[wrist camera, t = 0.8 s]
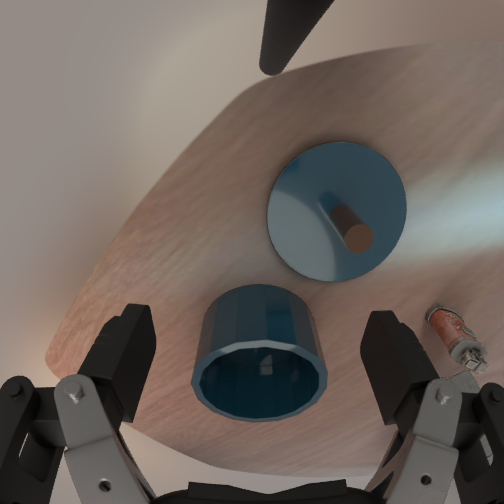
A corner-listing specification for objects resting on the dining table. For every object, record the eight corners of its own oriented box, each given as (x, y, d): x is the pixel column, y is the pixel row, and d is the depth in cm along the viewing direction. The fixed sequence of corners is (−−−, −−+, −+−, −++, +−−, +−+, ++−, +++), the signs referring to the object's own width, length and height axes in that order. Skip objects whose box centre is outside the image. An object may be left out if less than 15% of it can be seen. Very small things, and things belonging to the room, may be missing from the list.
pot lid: (257, 146, 25) (259, 156, 19) (402, 139, 24) (437, 148, 18) (273, 283, 30) (277, 321, 25) (396, 267, 30) (421, 299, 24)
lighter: (465, 316, 33) (500, 362, 24) (451, 334, 35) (482, 382, 26) (436, 299, 32) (475, 351, 23) (420, 319, 33) (454, 374, 24)
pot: (191, 290, 31) (175, 345, 23) (312, 277, 30) (330, 332, 23) (215, 370, 36) (208, 424, 29) (313, 361, 36) (323, 415, 28)
